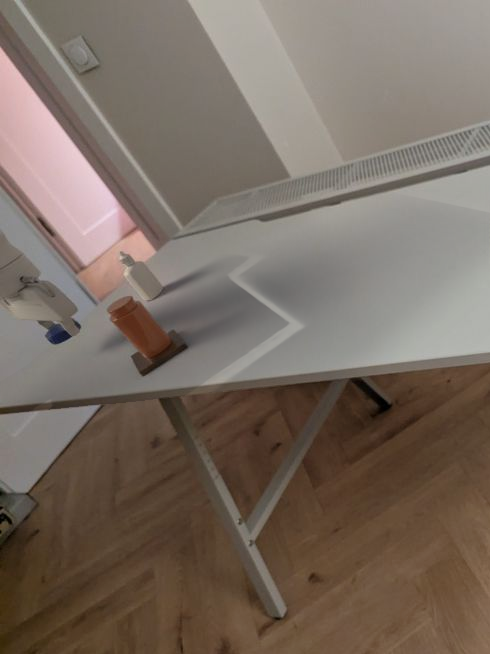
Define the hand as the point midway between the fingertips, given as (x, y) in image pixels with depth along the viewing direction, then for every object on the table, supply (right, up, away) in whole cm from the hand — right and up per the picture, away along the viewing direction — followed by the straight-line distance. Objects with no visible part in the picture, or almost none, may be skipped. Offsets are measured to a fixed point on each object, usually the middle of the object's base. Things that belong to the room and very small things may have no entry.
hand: (66, 333), depth 110 cm
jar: (+23, -3, -8) cm, 25 cm away
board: (+24, -4, -8) cm, 25 cm away
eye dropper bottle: (+8, +10, +17) cm, 21 cm away
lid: (0, +1, -1) cm, 1 cm away
